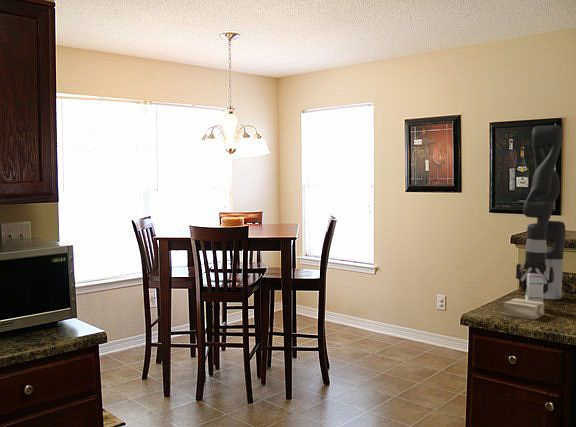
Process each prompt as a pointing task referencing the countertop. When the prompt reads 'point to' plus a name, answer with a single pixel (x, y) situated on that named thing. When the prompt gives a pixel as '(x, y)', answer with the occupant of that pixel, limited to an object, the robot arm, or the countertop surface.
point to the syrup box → (534, 287)
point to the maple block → (524, 308)
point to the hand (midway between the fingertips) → (534, 291)
